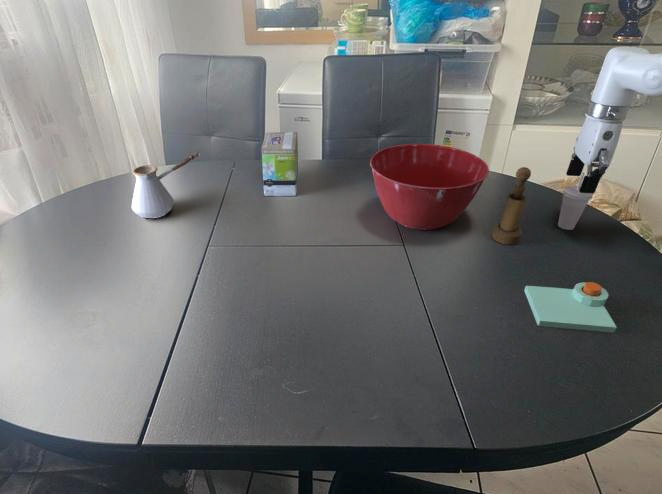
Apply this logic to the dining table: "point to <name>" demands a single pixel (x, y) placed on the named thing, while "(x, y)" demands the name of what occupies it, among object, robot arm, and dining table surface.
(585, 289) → the button
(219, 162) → the dining table surface
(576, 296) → the mint green button board
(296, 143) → the tea box
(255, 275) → the dining table surface
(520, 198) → the mortar and pestle
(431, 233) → the dining table surface
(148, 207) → the coffee pot
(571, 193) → the smoothie
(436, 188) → the mixing bowl
